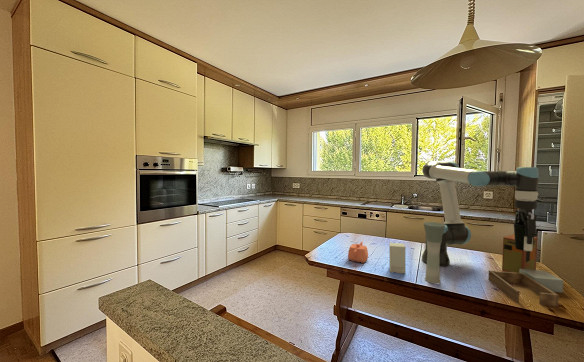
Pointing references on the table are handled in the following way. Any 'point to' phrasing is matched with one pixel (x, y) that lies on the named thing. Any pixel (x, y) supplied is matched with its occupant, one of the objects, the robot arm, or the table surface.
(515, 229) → the cup
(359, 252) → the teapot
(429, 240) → the container
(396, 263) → the skincare box
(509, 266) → the box
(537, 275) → the slate plinth
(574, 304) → the table surface
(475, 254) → the table surface
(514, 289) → the walnut frame
